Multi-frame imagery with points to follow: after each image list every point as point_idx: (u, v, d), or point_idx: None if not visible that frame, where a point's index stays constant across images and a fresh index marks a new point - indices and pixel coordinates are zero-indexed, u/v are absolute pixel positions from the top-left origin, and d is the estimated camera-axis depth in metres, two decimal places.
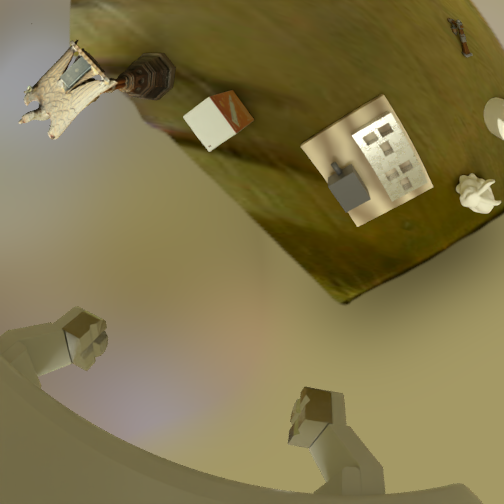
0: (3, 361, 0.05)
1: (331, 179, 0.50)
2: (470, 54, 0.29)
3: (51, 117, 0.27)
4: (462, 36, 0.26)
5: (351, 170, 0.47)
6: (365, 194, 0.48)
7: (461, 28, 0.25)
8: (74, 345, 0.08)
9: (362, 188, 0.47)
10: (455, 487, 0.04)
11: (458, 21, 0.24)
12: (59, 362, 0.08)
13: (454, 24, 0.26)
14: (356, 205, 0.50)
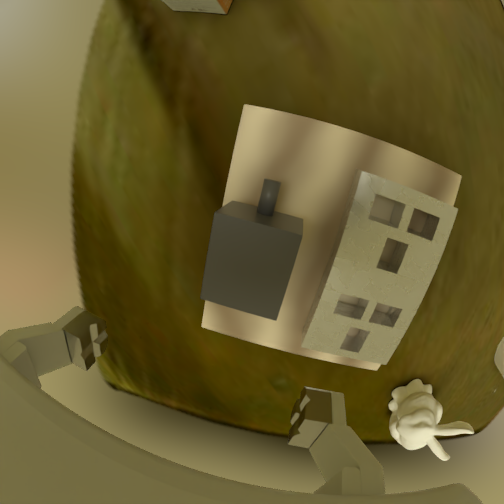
0: (3, 361, 0.05)
1: (235, 208, 0.19)
2: None
3: None
4: None
5: (298, 228, 0.18)
6: (275, 304, 0.19)
7: None
8: (74, 345, 0.08)
9: (283, 286, 0.18)
10: (455, 487, 0.04)
11: None
12: (59, 362, 0.08)
13: None
14: (235, 305, 0.19)
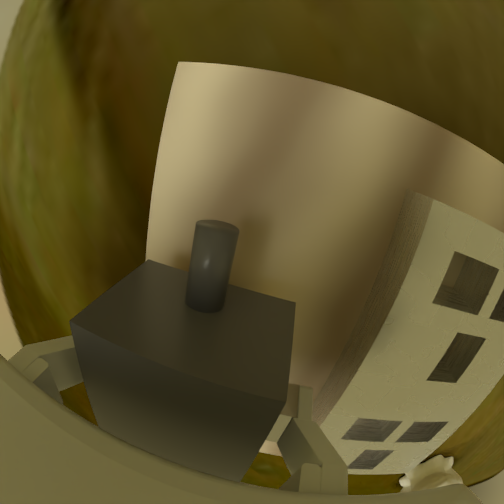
0: (3, 361, 0.05)
1: (136, 294, 0.08)
2: None
3: None
4: None
5: (277, 364, 0.06)
6: (229, 476, 0.07)
7: None
8: None
9: (241, 463, 0.07)
10: (455, 487, 0.04)
11: None
12: (81, 376, 0.08)
13: None
14: None
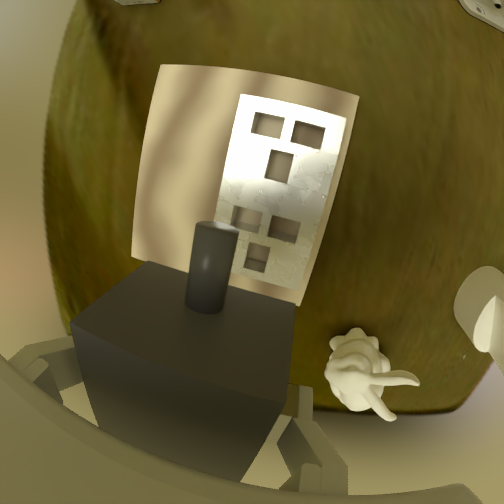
0: (3, 361, 0.05)
1: (135, 295, 0.08)
2: None
3: None
4: None
5: (276, 365, 0.06)
6: (229, 476, 0.07)
7: None
8: None
9: (241, 464, 0.07)
10: (455, 487, 0.04)
11: None
12: (81, 376, 0.08)
13: None
14: None
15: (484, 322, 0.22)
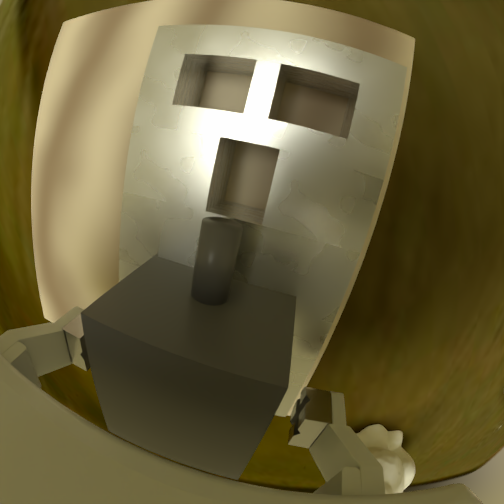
0: (3, 361, 0.05)
1: (144, 288, 0.08)
2: None
3: None
4: None
5: (279, 353, 0.07)
6: (232, 466, 0.08)
7: None
8: (74, 345, 0.08)
9: (244, 452, 0.07)
10: (455, 487, 0.04)
11: None
12: (59, 362, 0.08)
13: None
14: (163, 453, 0.08)
15: None
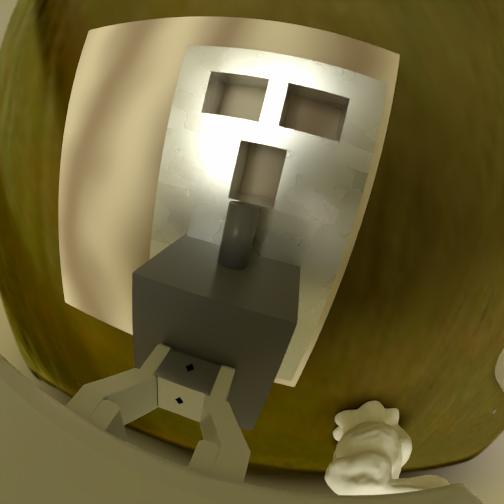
0: (3, 361, 0.05)
1: (179, 257, 0.11)
2: None
3: None
4: None
5: (289, 301, 0.09)
6: (248, 413, 0.10)
7: None
8: (169, 391, 0.08)
9: (260, 394, 0.10)
10: (455, 487, 0.04)
11: None
12: (145, 409, 0.08)
13: None
14: None
15: None
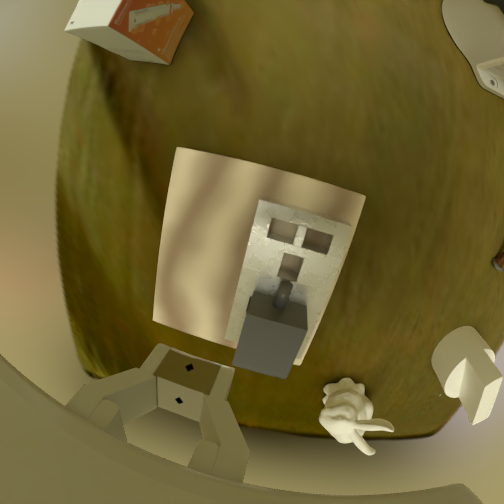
0: (3, 361, 0.05)
1: (259, 304, 0.26)
2: (501, 269, 0.26)
3: None
4: None
5: (304, 322, 0.25)
6: (285, 369, 0.25)
7: None
8: (168, 390, 0.08)
9: (292, 359, 0.25)
10: (455, 487, 0.04)
11: None
12: (145, 408, 0.08)
13: None
14: (257, 369, 0.26)
15: (455, 377, 0.27)
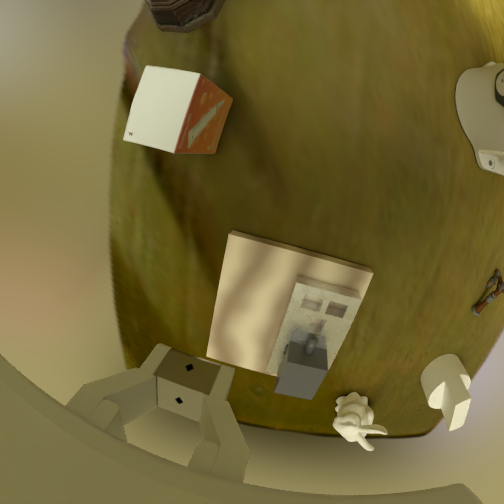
0: (3, 361, 0.05)
1: (294, 352, 0.36)
2: (478, 314, 0.34)
3: None
4: (493, 297, 0.31)
5: (325, 364, 0.34)
6: (311, 394, 0.35)
7: (501, 291, 0.30)
8: (168, 390, 0.08)
9: (316, 387, 0.34)
10: (455, 487, 0.04)
11: None
12: (145, 408, 0.08)
13: (498, 280, 0.31)
14: (291, 394, 0.36)
15: (436, 394, 0.36)
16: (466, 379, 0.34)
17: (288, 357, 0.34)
